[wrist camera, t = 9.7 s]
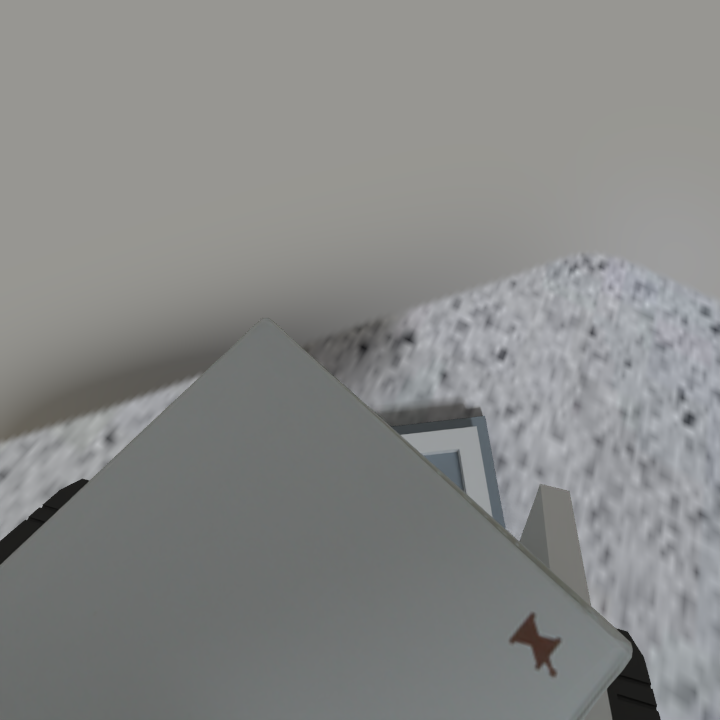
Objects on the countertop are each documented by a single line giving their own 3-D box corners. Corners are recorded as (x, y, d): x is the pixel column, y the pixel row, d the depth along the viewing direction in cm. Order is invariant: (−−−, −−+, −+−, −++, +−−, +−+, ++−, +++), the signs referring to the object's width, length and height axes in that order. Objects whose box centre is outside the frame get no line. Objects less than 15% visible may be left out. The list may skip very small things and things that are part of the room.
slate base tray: (483, 417, 32) (487, 411, 30) (533, 693, 27) (542, 705, 25) (250, 444, 32) (241, 439, 31) (257, 716, 27) (247, 728, 26)
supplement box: (352, 433, 20) (273, 293, 8) (496, 575, 18) (669, 661, 6) (214, 573, 19) (-112, 644, 7) (351, 743, 17) (215, 1260, 5)
